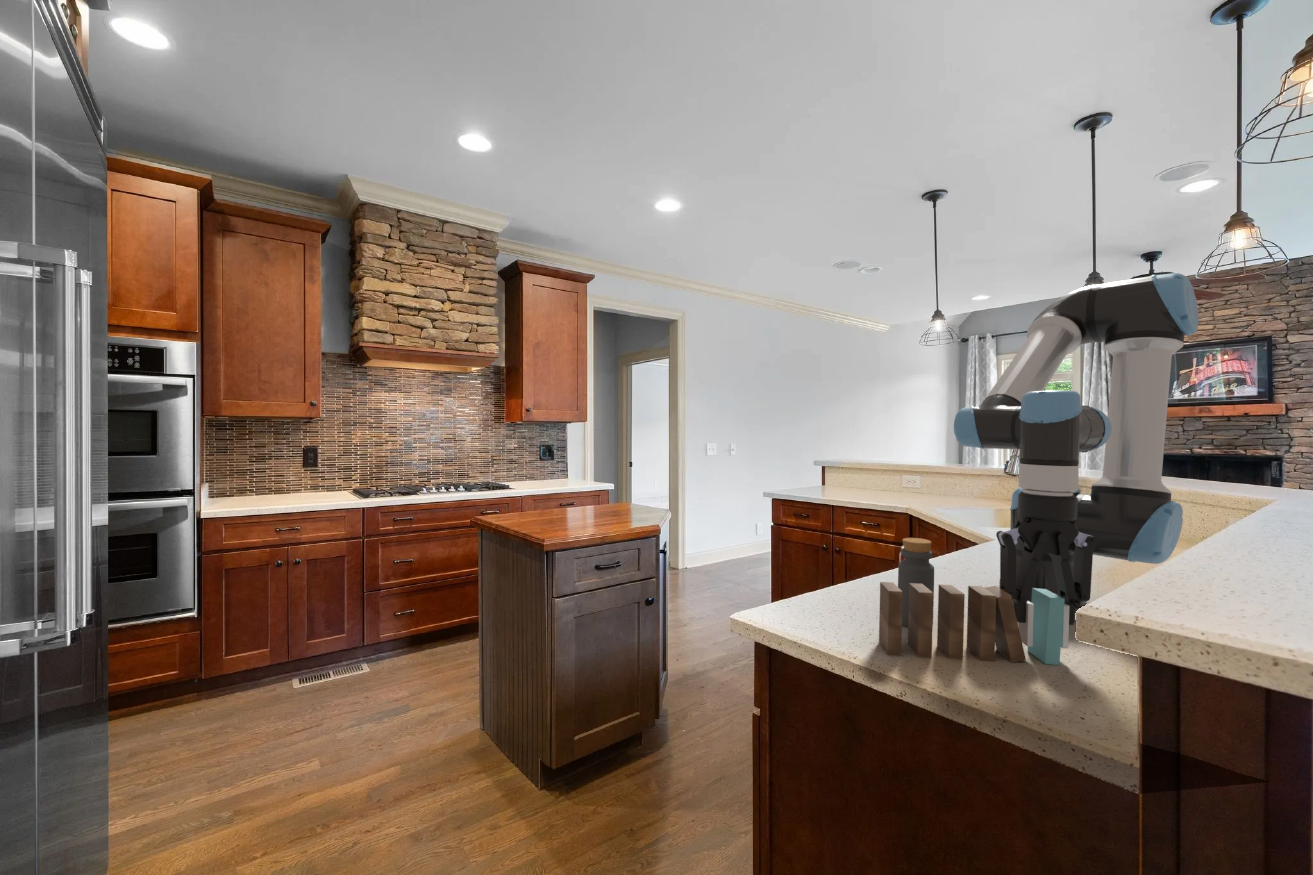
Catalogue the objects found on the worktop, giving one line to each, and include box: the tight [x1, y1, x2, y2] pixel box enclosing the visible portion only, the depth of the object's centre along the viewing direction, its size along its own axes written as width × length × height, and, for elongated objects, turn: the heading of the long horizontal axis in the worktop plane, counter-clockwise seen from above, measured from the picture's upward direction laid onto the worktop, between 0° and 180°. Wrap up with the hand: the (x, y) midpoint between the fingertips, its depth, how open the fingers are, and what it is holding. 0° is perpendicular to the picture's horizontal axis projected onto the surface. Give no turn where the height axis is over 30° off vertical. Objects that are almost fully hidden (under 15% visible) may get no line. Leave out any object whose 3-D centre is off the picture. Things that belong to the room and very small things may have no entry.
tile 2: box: [984, 585, 1027, 663], centre depth 88 cm, size 2×5×10 cm, turn 173°
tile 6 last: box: [878, 581, 903, 657], centre depth 90 cm, size 2×5×10 cm, turn 173°
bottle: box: [897, 537, 935, 628], centre depth 102 cm, size 6×6×15 cm
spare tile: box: [1027, 588, 1065, 666], centre depth 88 cm, size 2×5×10 cm, turn 173°
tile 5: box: [907, 583, 934, 659], centre depth 90 cm, size 2×5×10 cm, turn 173°
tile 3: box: [966, 585, 996, 662], centre depth 89 cm, size 2×5×10 cm, turn 173°
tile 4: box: [936, 584, 966, 660], centre depth 89 cm, size 2×5×10 cm, turn 173°
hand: (1042, 643), depth 88 cm, fingers open, 4 cm apart
